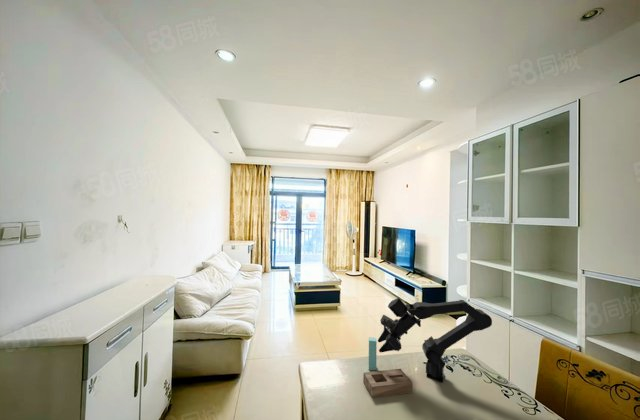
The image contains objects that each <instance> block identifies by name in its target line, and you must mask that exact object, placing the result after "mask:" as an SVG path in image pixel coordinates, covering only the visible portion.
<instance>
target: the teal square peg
mask: <svg viewBox="0 0 640 420" xmlns="http://www.w3.org/2000/svg"><path fill="white" fill-rule="evenodd" d="M377 342H378V340H377V337H370V336H369V337H368V370H369V369H370V370H369V371H374V370H376V371H377Z"/></svg>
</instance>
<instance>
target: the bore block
mask: <svg viewBox="0 0 640 420" xmlns="http://www.w3.org/2000/svg"><path fill="white" fill-rule="evenodd" d="M363 384H364V386H365V388H366V389H367V391H368V393H369V395H370V397H371V398H380V397H389V396H396V395H402V394H403V395H405V394H410V393H412V394H413V381H412V379H410V378H409V377H408V375H406V373H405V371H403V370H402V368H396V369H385V370H376V371H374V370H372V371H365V372H363Z"/></svg>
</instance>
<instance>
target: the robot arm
mask: <svg viewBox="0 0 640 420" xmlns="http://www.w3.org/2000/svg"><path fill="white" fill-rule="evenodd" d="M387 308H388V309H389V310H390V311H391V312H392V313H393V314H394V315H395V317H396V319H392V318H391V317H390V316H389V317H388V315H385V314H382V315H381V318H380V325H381V326H383V331H382V332H381V335H379V337H378V339H377V342H378V343H382V342H384V341H385V342H384V343H383V344H382V346H381V347H380V348H379V349H378V352H379V353H381V354H382V353H385V352H391V351H395V352H399V351H401V350H402V343H401V338H402V336H403V335H404V334H405V335H408V332H409V330H410V329H412V328H413V327H414V326H415V325H417V326H418V327H419V328H421V327H422V325H421V322H422V320H425V319H429V318H431V317H433V316H435V315H442V314H443V315H444V314H452V313H459V312H464V313H466V314H467V316H466V319H465V320H463V321H462V322H461V323H459V324H458V325H456V326H455V327H453V328H451V329H450V330H448V331H447V332H446V333H445V334H443V335H442V336H440V337H438V338H434V337H433V336H430V337H428V338H427V339H425V340H424V342H423V343H422V344H421V345H422V346H421V347H422V352H423V354H424V356H425V357H426V359H427V361H426V362H425V374H426V376H425V377H426V378H428V379H432V380H434V381H437V382H440V383H443V382H444V378H445V372H444V371H445V369H444V368H445V366H446V361H444V359H443V356H444V353H445V352H446V350H447V349H448V348H450V347H452V346H453V345H455V344H457V343H458V342H460V341H461V340H462V339H464V338H465V337H467V336H469V335H471V334H472V333H474V332H477V331H479V332H480V331H483V330H486V329H489V328H490V327H492V326H493V325H492V324H493V320H492V318H491V316H490V315H488V314H487V313H486V312H484V311H483V310H482V309H480V308H479V309H478V308H476V307H474V306H472V305H470V304H469V303H468V302H466V300H463V299H458V300H452V301H445V302H437V303H434V302H433V303H430V302H429V303H428V302H424V301H422V302H421V301H416V302H414V303H410V304H405V303H404V302H403V301H402V299H401V298H400V297H399V296H398V297H397V298H395V299H393V300H391V301H390V302H389V303H388V305H387ZM398 318H399V319H398Z"/></svg>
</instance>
